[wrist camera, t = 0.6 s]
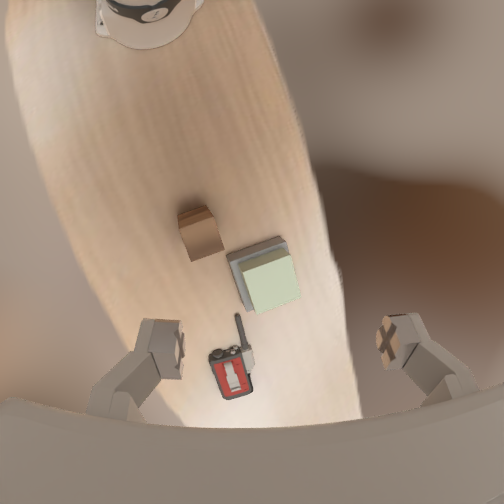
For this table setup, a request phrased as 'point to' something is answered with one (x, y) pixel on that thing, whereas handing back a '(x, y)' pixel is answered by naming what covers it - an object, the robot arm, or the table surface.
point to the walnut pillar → (199, 233)
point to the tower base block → (247, 255)
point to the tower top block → (270, 280)
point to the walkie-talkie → (234, 367)
